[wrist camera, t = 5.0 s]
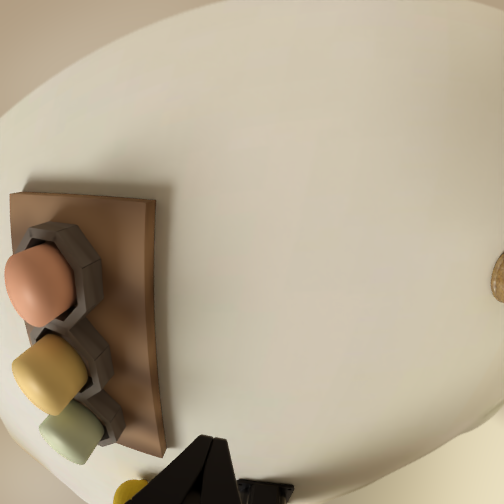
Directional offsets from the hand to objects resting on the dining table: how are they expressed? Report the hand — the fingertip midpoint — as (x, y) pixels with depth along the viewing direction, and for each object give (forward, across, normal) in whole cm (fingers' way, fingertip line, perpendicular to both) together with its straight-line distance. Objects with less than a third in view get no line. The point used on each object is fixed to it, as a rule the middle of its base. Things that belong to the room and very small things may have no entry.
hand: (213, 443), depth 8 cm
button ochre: (+8, +14, +7) cm, 18 cm away
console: (+12, +14, +7) cm, 20 cm away
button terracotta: (+10, +14, 0) cm, 17 cm away
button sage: (+8, +14, +14) cm, 21 cm away
